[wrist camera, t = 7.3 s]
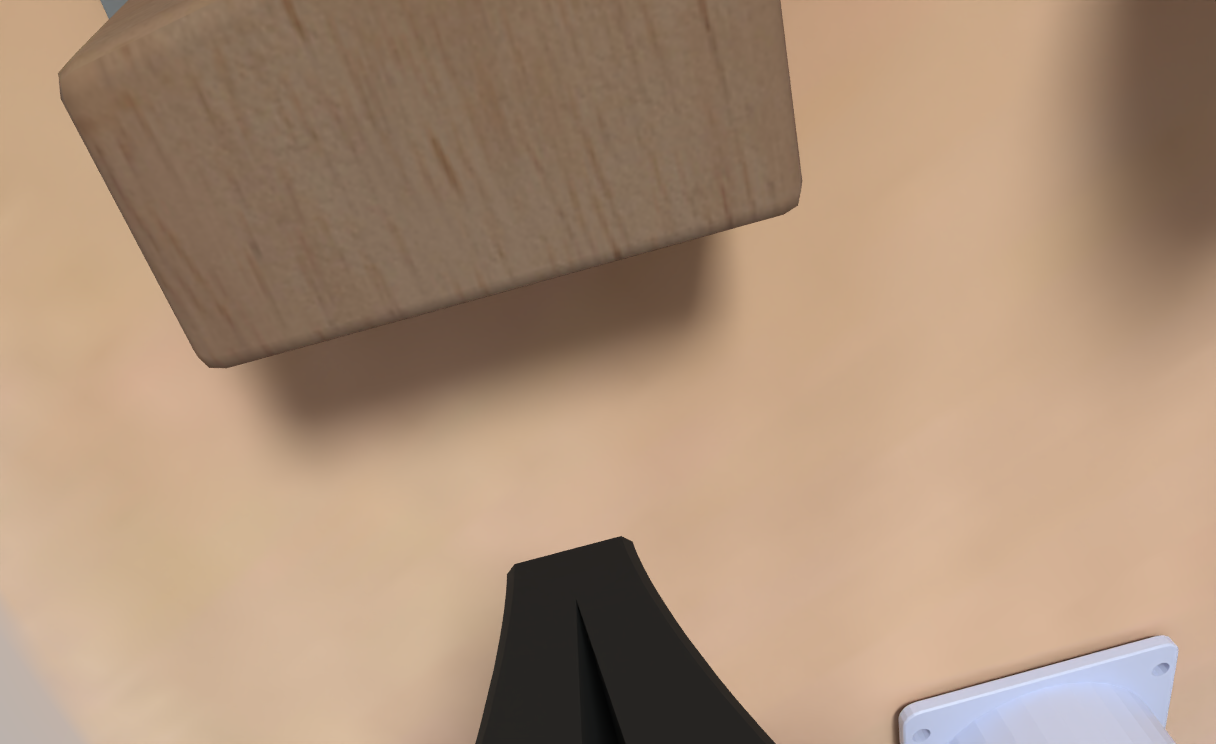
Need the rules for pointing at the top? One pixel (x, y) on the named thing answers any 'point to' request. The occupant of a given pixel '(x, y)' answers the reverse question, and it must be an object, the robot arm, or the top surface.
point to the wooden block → (422, 148)
